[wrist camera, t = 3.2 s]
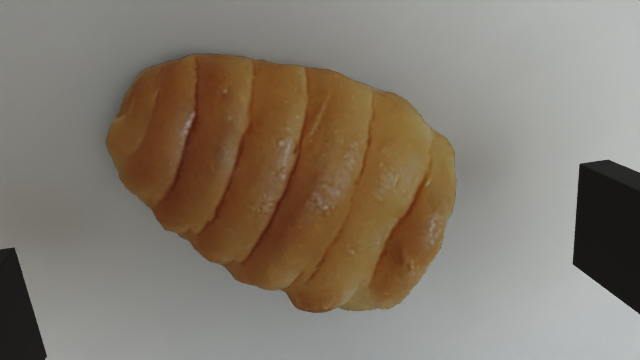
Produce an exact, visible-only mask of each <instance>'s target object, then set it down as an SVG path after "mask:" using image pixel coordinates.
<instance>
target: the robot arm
mask: <svg viewBox="0 0 640 360" xmlns="http://www.w3.org/2000/svg"><path fill="white" fill-rule="evenodd" d="M573 265H575V266H576V267H577V268H579V269H580V270H581V271H583V272H584V273H585V274H587V275H588V276H589V277H591V278H592V279H593V280H595V281H596V282H597V283H599V284H600V285H601V286H603V287H604V288H606V289H607V290H608V291H610V292H611V293H612V294H614V295H615V296H616V297H618V298H619V299H620V300H622V301H623V302H624V303H626V304H627V305H628V306H630V307H631V308H632V309H634V310H635V311H636V312H638V313H639V314H640V173H639V172H637V171H634V170H632V169H629V168H627V167H625V166H622V165H620V164H617V163H615V162H612V161H610V160H603V161H596V162H589V163H582V164H580V166H579V181H578V195H577V210H576V225H575V239H574V254H573ZM46 357H47V355H46V351H45V348H44V345H43V341H42V338H41V335H40V331H39V328H38V325H37V321H36V318H35V314H34V311H33V308H32V304H31V301H30V298H29V294H28V291H27V288H26V284H25V281H24V278H23V274H22V271H21V267H20V264H19V261H18V257H17V254H16V251H15V247H14V248H7V249H1V250H0V360H45V359H46Z"/></svg>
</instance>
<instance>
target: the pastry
mask: <svg viewBox="0 0 640 360" xmlns="http://www.w3.org/2000/svg"><path fill="white" fill-rule="evenodd" d="M106 145H107V149H108V152H109V154H110V155H111V157H112V159H113V161H114V164H115V167H116V168H117V170H118V172H119V177H120V180H121V181H122V183H123V184H124V186H125V187H126V188H127V189H128V190H129V191H130V192H132V193H133V194H134V195H136V196H137V197H138V198H139V199H140V200H142V201H143V202H144V203H145V204H146V205H147V206H148V207H150V208H151V209H152V210H153V212H154V214H155V216H156V218H157V220H158V221H159V222H160V224H161V225H162V226H163V228H164V229H165V230H168V231H171V232H175V233H177V234H178V235H179V236H180V237H182V238H184V239H186V240H188V241H189V242H191V244H192V246H193V247H194V249H195V250H197V251H198V252H199V253H200V254H201V255H202V256H203V257H204V258H206V259H207V260H209V261H211V262H215V263H219V264H221V265H223V266H225V267H226V268H227V270H228V271H229V272H230V273H231V274H232V276H233V277H234V278H235V279H236V280H237V281H239V282H242V283H245V284H249V285H253V286H257V287H259V288H262V289H265V290H279V289H280V290H282V291H284V292H286V294H287V296H288V297H289V299H290V300H291V302H292V303H293V305H294V306H295V307H296V308H298V309H299V310H303V311H308V312H313V313H322V312H327V311H330V310H332V309H334V308H337V307H340V308H341V309H344V310H347V311H349V310H351V311H364V310H373V309H376V308H378V309H390V308H391V307H393V306H395V305H397V304H399V303H400V302H401V301H402V300H403V299H405V298H406V296H407V295H408V294H409V293H410V291H411V290H412V289H413V288H414V286H415V285H416V284H417V283H418V282H419V280H420V279H421V277H422V276H423V274H424V273H425V272H426V270H427V268H428V267H429V265H430V263H431V262H432V260H433V259H434V257H435V256H436V254H437V253H438V251H439V250H440V248H441V245H442V241H443V238H444V231H445V226H446V222H447V220H448V218H449V217H450V215H451V214H452V211H453V206H454V201H455V195H456V176H455V162H454V159H455V154H454V150H453V148H452V146H451V145H450V143H449V141H448V140H447V139H446V138H445V137H444V136H442V135H440V134H439V133H437V132H436V131H434V130H433V129H432V128H431V127H430V126H428V125H427V124H426V122H425V121H424V120H423V118H422V116H421V115H420V114H419V113H418V111H417V110H416V109H415V108H414V107H412V105H411V104H410V103H409V102H408V101H407V100H405V99H403V98H402V97H400V96H398V95H396V94H394V93H390V92H386V91H382V90H378V89H374V88H372V87H370V86H368V85H366V84H363V83H360V82H357V81H354V80H352V79H350V78H348V77H346V76H344V75H342V74H340V73H338V72H334V71H331V70H327V69H316V68H308V67H304V66H300V65H284V64H275V63H271V62H267V61H263V60H254V59H250V58H246V57H242V56H228V55H219V54H204V55H197V54H193V55H189V56H186V57H184V58H182V59H179V60H172V61H167V62H164V63H161V64H158V65H155V66H152V67H149V68H147V69H145V70H144V71H142V72H141V73H140V74H139V75H138V76H137V77H136V78H135V80H134V81H133V83H132V85H131V87H130V88H129V90H128V91H127V93H126V94H125V97H124V99H123V102H122V104H121V107H120V110H119V112H118V113H117V115H116V117H115V119H114V121H113V122H112V124H111V126H110V128H109V131H108V135H107V138H106Z"/></svg>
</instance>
